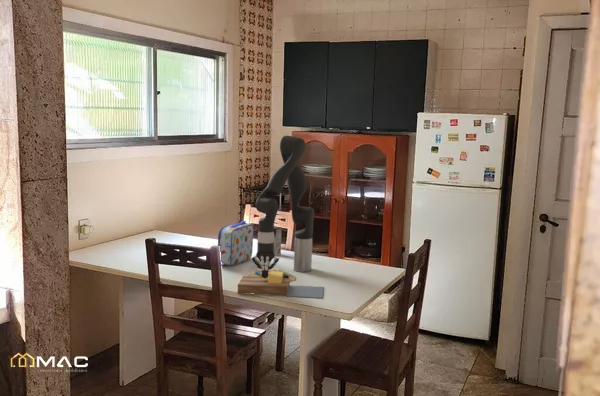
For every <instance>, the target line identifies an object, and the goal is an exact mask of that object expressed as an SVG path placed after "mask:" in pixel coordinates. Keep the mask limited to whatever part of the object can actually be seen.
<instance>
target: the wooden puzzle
mask: <svg viewBox="0 0 600 396" xmlns="http://www.w3.org/2000/svg"><path fill="white" fill-rule="evenodd" d="M270 271H277V272H283V278H290V282H294V281H295V282H296V281H297V277H296V276H295V275H293V274H291V273H289V272H286V271H285V270H282V269H270V270H268V275H269V273H270ZM246 276H251V277H262V270H255V271H254V272H249V273H248V274H247V275H246Z"/></svg>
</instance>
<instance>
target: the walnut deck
mask: <svg viewBox="0 0 600 396" xmlns="http://www.w3.org/2000/svg"><path fill="white" fill-rule="evenodd" d="M290 282H291V281H290V278H283V279H282V283H281V284H280V283H268V277H267V278H263V277H251V276H247V275H243V276H242V277H241V279H240V280H239V282H238V283H237V294H240V293H254V294H253V295H258V294H269V295H268V296H278V295H282V296H281V297H283V296H284V297H286V296H287V293H288V289H289V286H290V285H291V283H290ZM240 295H241V294H240Z"/></svg>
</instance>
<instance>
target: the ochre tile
mask: <svg viewBox="0 0 600 396" xmlns="http://www.w3.org/2000/svg"><path fill="white" fill-rule="evenodd" d="M282 279H283V272H277V271H270V273H269V275H268V283H280V284H281V283H282Z"/></svg>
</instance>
